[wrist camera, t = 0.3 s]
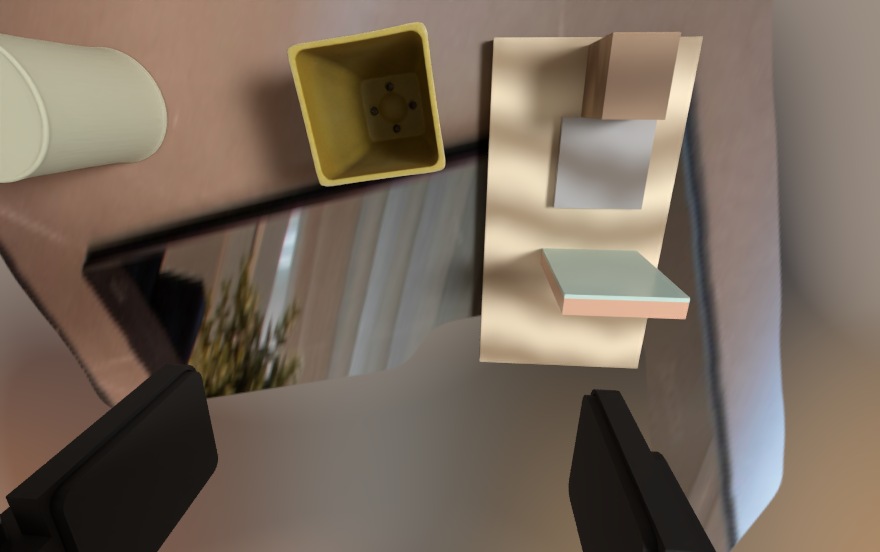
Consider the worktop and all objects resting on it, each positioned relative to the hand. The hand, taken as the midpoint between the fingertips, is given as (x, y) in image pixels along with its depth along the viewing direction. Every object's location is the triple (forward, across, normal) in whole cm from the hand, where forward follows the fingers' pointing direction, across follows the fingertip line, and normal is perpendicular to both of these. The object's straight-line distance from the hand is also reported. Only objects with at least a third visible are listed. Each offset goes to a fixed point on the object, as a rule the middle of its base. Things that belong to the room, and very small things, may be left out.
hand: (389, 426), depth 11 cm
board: (+30, -11, +2) cm, 32 cm away
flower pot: (+30, +5, -7) cm, 31 cm away
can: (+30, +29, -7) cm, 42 cm away
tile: (+28, -12, +5) cm, 31 cm away
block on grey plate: (+28, -12, -6) cm, 31 cm away
